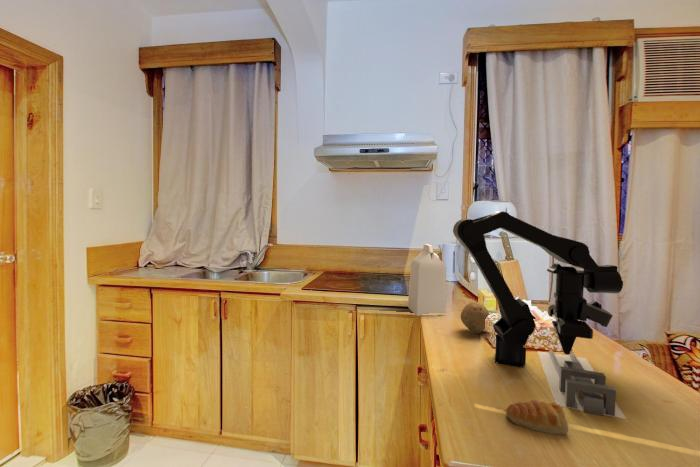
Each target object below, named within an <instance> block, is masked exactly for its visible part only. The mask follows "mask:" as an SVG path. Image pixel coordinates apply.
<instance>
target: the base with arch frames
mask: <svg viewBox="0 0 700 467" xmlns="http://www.w3.org/2000/svg"><path fill="white" fill-rule="evenodd" d="M536 352H537V354H538V358H539V361H540V364H541V365H542V369H543V372H544V374H545V378H546V380H547V384H548V386H549V388H550V392H551V395H552V397H553V400H554V402H555V403H557V404H558V405H560V406H561V407H562V408H563V407H564V408H568V409H573V410H577V411H582V412H584V411H583V410H582V408H581V406H580V404H579V402H578V400H577V398H576V396H575V394H576V389H580V390H585V391H591V392H597V393H600V395H601V396H602V398H603V399H604V408H603V416H609V417H613V418H620V419H623V420H627V417H626V416H625V415H624V412H622V410H621V408H620V407H619V405H618V404H617V402H616V398H617V390H616V389H615V387H614V386H611V385H607V384H606V375H605V373H604V372H599V371H595V370H594V368H593V367H592V366H591V364H590V363H589V361H588V360H587V358H585V357H580V356H576V354H575V353H574V352H570V354H569V355H567V354H560V353H559V354H558V353H555V352H554V350H553V349H548V352H543V351H536ZM565 361H571V362H578V363H580V364H581V365H582V367H583V368H584V370H581V369H574V368H568V367H564V364H565ZM569 375H571V376H577V377H583V378H589V379H591V381H592V382H593V383H588V382H582V381H576V380H570V379H569Z"/></svg>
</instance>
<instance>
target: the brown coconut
mask: <svg viewBox="0 0 700 467" xmlns="http://www.w3.org/2000/svg"><path fill="white" fill-rule="evenodd" d="M488 315H490V316H491V314H490V312H489V310H488V309H487V307H486V306H485V305H484V304H482V303H481V302H479V301H471V302H470V301H469V302H468V303H467V304H465V305H464V306H463V309H462V310H461V312H460V319H461V322H462V323H463V325H464V326H465V327H466V328H467V329H468V330H469V331H470V332H471V333H472V332H473V333H472V334H475V333H478V334H480V333H482V332H483V331H485V330H486V329H485V319H486V317H487V316H488Z"/></svg>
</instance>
